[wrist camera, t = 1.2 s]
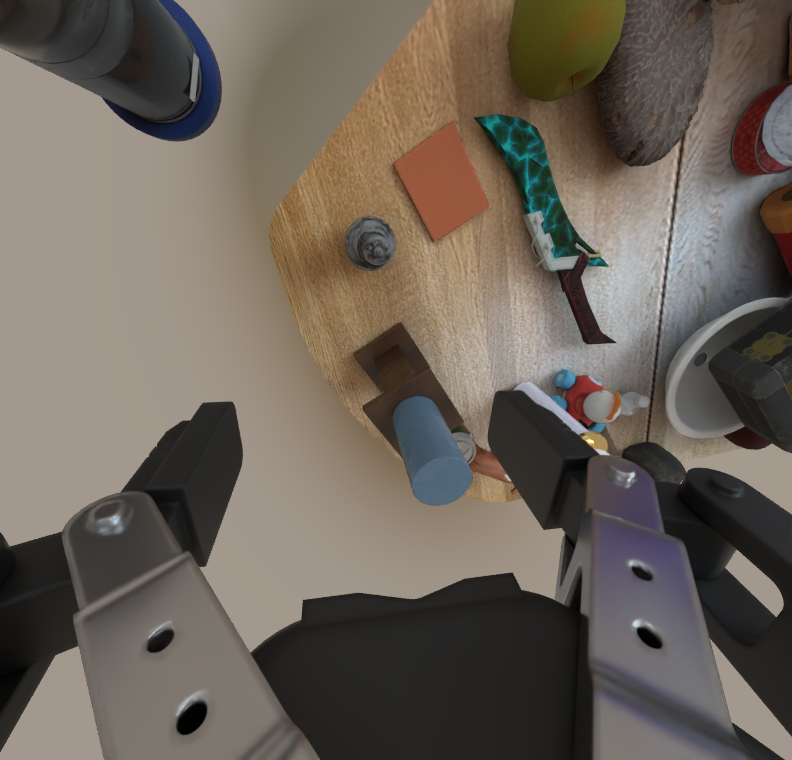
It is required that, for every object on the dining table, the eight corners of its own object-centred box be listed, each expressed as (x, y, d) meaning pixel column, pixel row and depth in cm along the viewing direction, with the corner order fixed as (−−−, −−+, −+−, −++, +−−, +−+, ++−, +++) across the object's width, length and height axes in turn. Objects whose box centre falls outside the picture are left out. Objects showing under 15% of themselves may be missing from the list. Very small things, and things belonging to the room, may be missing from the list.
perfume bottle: (500, 405, 58) (575, 492, 40) (513, 373, 56) (599, 451, 38) (530, 409, 59) (615, 496, 42) (544, 379, 57) (640, 456, 39)
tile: (392, 164, 41) (393, 163, 40) (451, 121, 40) (453, 120, 39) (433, 242, 45) (435, 242, 45) (487, 205, 44) (489, 205, 44)
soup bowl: (724, 416, 68) (762, 436, 62) (615, 420, 64) (644, 442, 58) (792, 290, 58) (845, 300, 52) (668, 285, 53) (709, 295, 47)
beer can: (437, 426, 58) (461, 476, 47) (410, 413, 56) (429, 461, 45) (456, 401, 56) (486, 446, 46) (430, 387, 54) (454, 430, 44)
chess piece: (364, 204, 42) (376, 203, 31) (400, 239, 44) (422, 249, 34) (334, 243, 43) (334, 255, 33) (370, 276, 46) (382, 296, 35)
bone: (641, 407, 62) (632, 387, 62) (659, 410, 56) (650, 388, 57) (540, 442, 64) (532, 423, 64) (549, 448, 59) (540, 427, 59)
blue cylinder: (383, 413, 36) (400, 479, 27) (424, 387, 36) (455, 446, 27) (407, 444, 38) (431, 515, 30) (446, 420, 38) (482, 485, 29)
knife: (535, 75, 41) (465, 124, 41) (553, 61, 38) (478, 113, 38) (621, 330, 55) (570, 367, 55) (639, 334, 52) (585, 373, 52)
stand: (353, 353, 50) (362, 410, 36) (401, 321, 49) (429, 368, 35) (384, 393, 53) (403, 459, 39) (428, 364, 53) (464, 422, 38)
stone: (667, 453, 70) (642, 429, 66) (703, 478, 63) (678, 453, 59) (636, 480, 72) (610, 459, 68) (668, 508, 65) (641, 486, 61)
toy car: (601, 389, 59) (658, 384, 50) (586, 438, 58) (642, 443, 48) (558, 366, 58) (608, 356, 48) (541, 415, 56) (590, 416, 46)
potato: (724, 420, 62) (707, 399, 69) (733, 462, 65) (716, 438, 71) (787, 409, 58) (762, 389, 65) (794, 455, 61) (770, 430, 67)
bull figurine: (506, 471, 65) (529, 504, 58) (450, 444, 60) (467, 477, 53) (522, 453, 64) (546, 485, 56) (466, 425, 59) (485, 455, 51)
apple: (495, 39, 39) (517, 141, 41) (501, -46, 30) (530, 90, 31) (591, -7, 37) (612, 103, 38) (631, -115, 27) (657, 36, 29)
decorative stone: (703, 123, 44) (745, 114, 40) (600, 187, 45) (630, 184, 41) (685, -85, 35) (736, -127, 31) (558, 1, 37) (589, -28, 32)
